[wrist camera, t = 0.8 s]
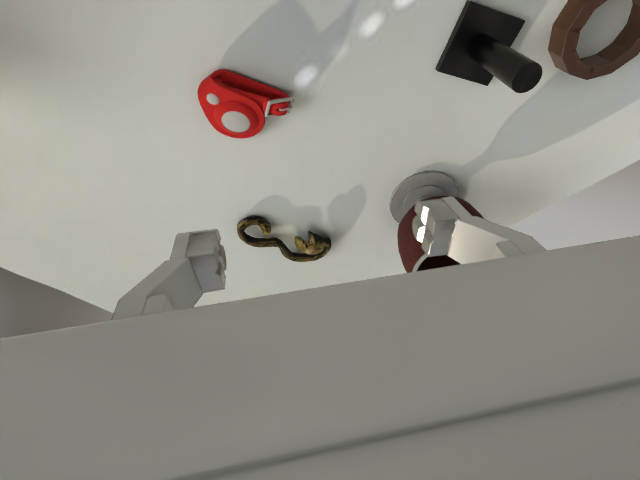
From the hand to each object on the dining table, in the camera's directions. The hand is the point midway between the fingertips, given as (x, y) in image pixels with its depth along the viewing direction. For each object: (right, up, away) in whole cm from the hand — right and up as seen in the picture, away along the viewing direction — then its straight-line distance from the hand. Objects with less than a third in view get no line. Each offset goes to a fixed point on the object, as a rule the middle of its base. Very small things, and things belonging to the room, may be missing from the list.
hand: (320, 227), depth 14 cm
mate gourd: (+19, +8, +47) cm, 51 cm away
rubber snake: (-7, +1, +51) cm, 52 cm away
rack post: (+21, +25, +30) cm, 44 cm away
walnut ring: (+36, +27, +29) cm, 54 cm away
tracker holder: (-10, +19, +34) cm, 40 cm away
